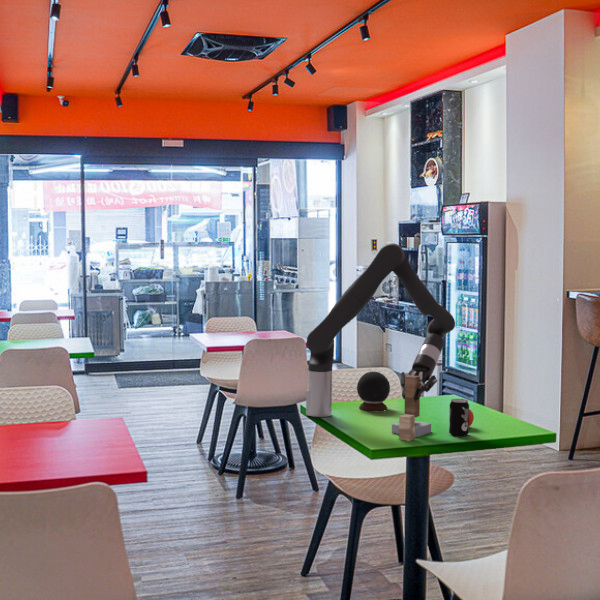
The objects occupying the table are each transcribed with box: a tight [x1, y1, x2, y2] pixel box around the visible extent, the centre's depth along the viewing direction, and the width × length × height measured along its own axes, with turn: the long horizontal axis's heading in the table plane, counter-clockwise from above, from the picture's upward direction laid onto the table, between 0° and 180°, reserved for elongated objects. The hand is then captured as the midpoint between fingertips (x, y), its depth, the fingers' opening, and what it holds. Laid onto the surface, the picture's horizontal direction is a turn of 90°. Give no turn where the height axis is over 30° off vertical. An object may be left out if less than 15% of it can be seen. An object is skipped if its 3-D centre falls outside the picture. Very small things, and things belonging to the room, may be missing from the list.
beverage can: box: [448, 398, 470, 437], centre depth 273 cm, size 7×7×12 cm
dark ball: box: [356, 370, 391, 412], centre depth 317 cm, size 13×13×15 cm
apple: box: [469, 408, 475, 427], centre depth 284 cm, size 8×8×8 cm
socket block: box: [391, 420, 432, 438], centre depth 276 cm, size 10×10×3 cm
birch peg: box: [398, 413, 416, 442], centre depth 265 cm, size 4×4×8 cm
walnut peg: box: [404, 375, 421, 419], centre depth 275 cm, size 4×4×14 cm
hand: (409, 398), depth 273 cm, fingers closed on walnut peg, 3 cm apart
